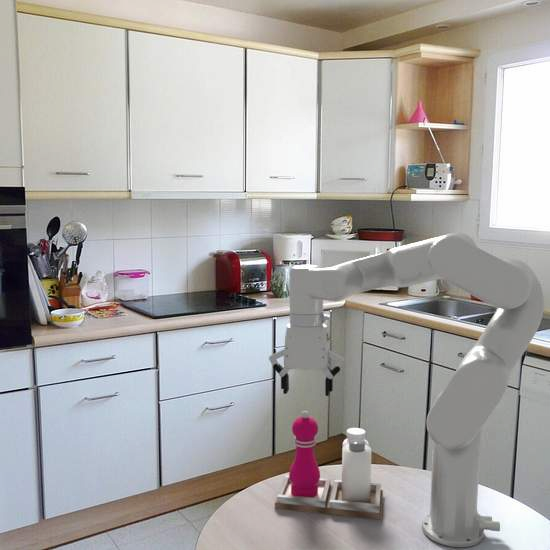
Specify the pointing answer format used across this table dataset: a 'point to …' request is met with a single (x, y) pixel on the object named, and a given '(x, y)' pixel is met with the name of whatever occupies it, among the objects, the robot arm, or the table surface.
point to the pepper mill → (304, 458)
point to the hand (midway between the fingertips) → (306, 393)
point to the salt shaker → (356, 472)
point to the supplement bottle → (355, 435)
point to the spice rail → (330, 500)
